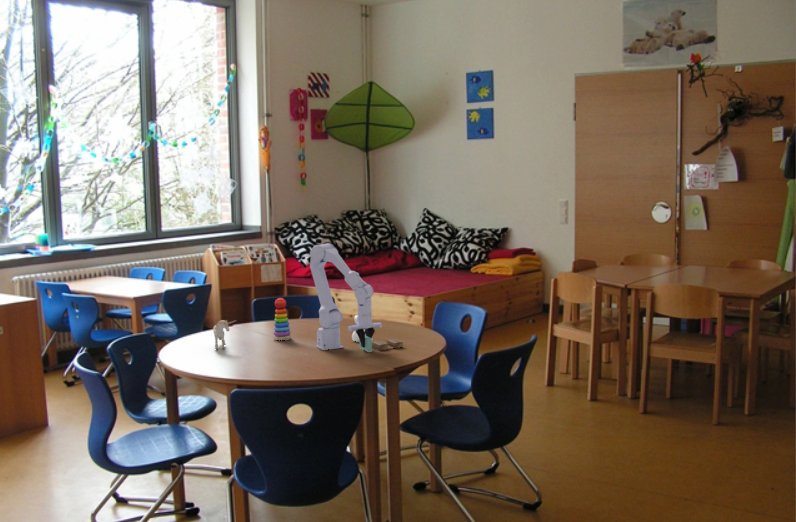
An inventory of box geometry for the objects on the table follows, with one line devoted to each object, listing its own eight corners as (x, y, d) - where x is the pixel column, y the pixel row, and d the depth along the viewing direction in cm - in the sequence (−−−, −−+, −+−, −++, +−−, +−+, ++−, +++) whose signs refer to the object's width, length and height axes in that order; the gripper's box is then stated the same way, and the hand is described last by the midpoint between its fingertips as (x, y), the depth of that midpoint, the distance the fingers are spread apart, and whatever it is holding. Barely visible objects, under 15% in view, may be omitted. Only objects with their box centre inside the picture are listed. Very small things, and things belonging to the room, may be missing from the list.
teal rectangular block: (368, 353, 309) (368, 338, 308) (359, 348, 317) (359, 334, 316) (372, 352, 310) (371, 338, 309) (363, 348, 318) (362, 334, 317)
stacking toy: (293, 337, 342) (291, 296, 340) (289, 341, 334) (287, 299, 332) (276, 337, 343) (274, 296, 341) (271, 341, 335) (269, 299, 333)
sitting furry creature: (373, 342, 329) (373, 315, 327) (354, 344, 326) (353, 316, 325) (368, 338, 338) (367, 311, 336) (349, 339, 335) (348, 313, 334)
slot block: (378, 350, 312) (378, 344, 312) (371, 347, 318) (371, 341, 318) (403, 347, 317) (402, 341, 317) (395, 344, 323) (395, 338, 323)
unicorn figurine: (221, 354, 313) (219, 322, 311) (205, 346, 329) (203, 315, 327) (237, 351, 316) (236, 320, 315) (221, 343, 333) (219, 313, 331)
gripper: (352, 317, 305) (353, 350, 306) (384, 313, 311) (385, 346, 313) (345, 314, 311) (346, 347, 313) (377, 311, 318) (378, 343, 319)
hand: (365, 346), depth 313 cm, fingers closed
